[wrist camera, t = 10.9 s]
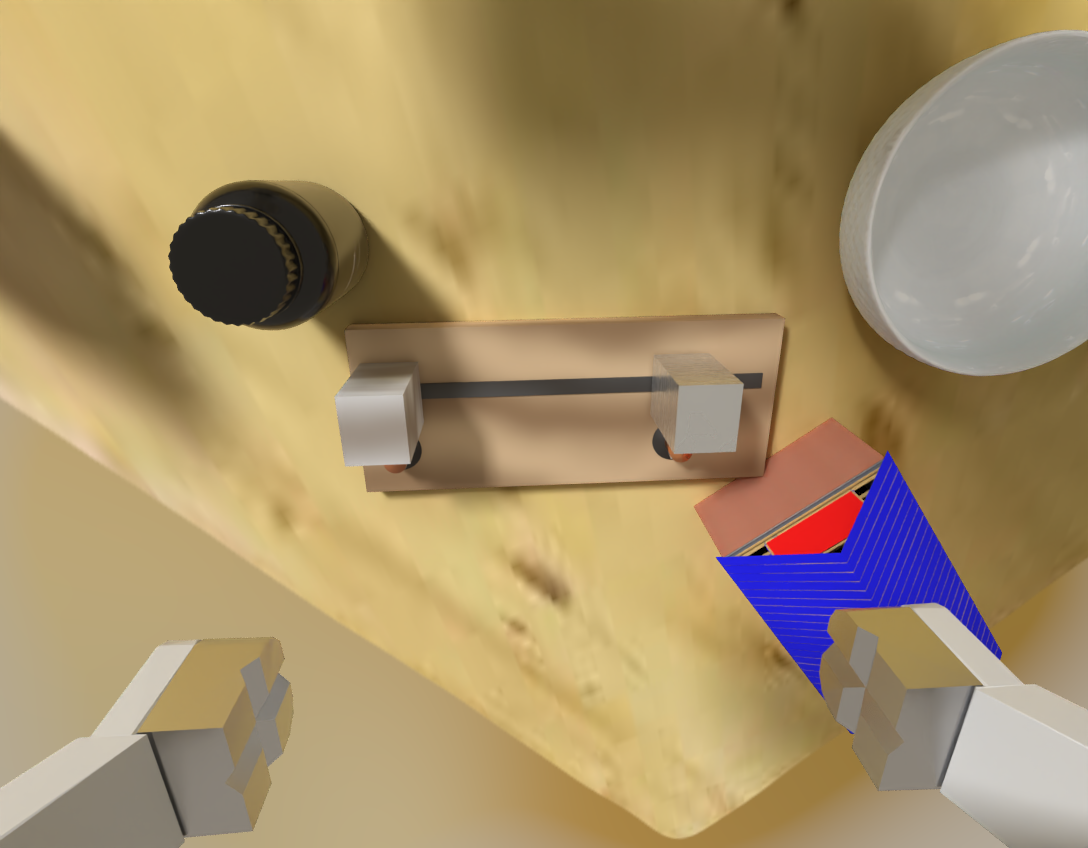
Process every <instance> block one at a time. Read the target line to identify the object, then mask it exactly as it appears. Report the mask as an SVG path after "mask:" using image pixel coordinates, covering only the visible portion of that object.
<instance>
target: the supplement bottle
mask: <svg viewBox="0 0 1088 848" xmlns="http://www.w3.org/2000/svg"><path fill="white" fill-rule="evenodd" d="M170 250H171V251H170V253H169V255H168V257H169V260H170V266H169V268H170V270H171V272H172V273H173V276H172V277H173V280H174V282H175V283H176V284H177V288H178V290H179V291H180V292H181V293H182V294H183V295H184V298H185V300H186V301H187V302H189V303H191V305H192V306H193V308H194V309H196V310H198V311H200V312H201V313H202V314H203V315H204V316H206V317H210V318H211V319H213V320H214V321H216V322H223V323H224V324H226V325H229V324H234V325H236V326H240V325H245V326H248V327H251V328H255V329H261V330H283V329H288V328H292V327H295V326H298V325H300V324H302V323H304V322H307V321H308V320H310V319H312V318H313V317H315V316H316V315H317V314H319V313H320V312H322V311H323V310H324V309H326V308H327V307H329V306H330V305H331V304H333V303H334V302H336V301H337V300H338V299H340V298H341V297H342V296H344V295H345V294H346V293H348V292H349V291H350V290H351V289H352V288H353V287H354V286H355V285H356V284H357V283H358V281H359V280H360V278H361V277H362V275H363V273H364V271H365V268H366V265H367V261H368V254H369V244H368V237H367V233H366V230H365V227H364V224H363V222H362V220H361V218H360V216H359V215H358V213H357V212H356V210H355V209H354V208H353V206H352V205H351V204H350V203H349V202H348V201H347V200H346V199H345V198H344V197H342V196H341V195H340V194H338V193H337V192H335V191H334V190H332V189H330V188H328V187H325V186H323V185H320V184H317V183H312V182H306V181H270V180H248V181H240V182H234V183H230V184H227V185H224V186H222V187H220V188H218V189H216V190H214V191H212V192H211V193H209V194H208V195H207V196H206V197H205V198H204V199H203V200H202V201H201V202H200V203H199V204H198V205H197V207H196V208H195V209H194V211H193V213H192V215H191V217H188V218H187V219H186V222H185V223H183V224H181V225H179V229H178V231H177V232H176V233H175V234H174V235H173V241H172V242H171V244H170Z"/></svg>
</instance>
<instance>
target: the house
mask: <svg viewBox="0 0 1088 848" xmlns="http://www.w3.org/2000/svg"><path fill="white" fill-rule="evenodd" d="M861 481H863V482H861ZM859 482H861V483H859ZM858 483H859V484H858ZM856 484H858V485H856ZM854 485H856V486H854ZM863 485H865V486H866V487H867V489H868V491H867V492H865V493H863V494H862V495H860V496H858V495H857V494H856V493H855V490H857V489H858V488H860V487H862V486H863ZM853 486H854V487H853ZM851 487H853V488H851ZM849 488H851V489H850V490H848V489H849ZM846 490H848V491H846ZM845 491H846V492H845ZM843 492H845V493H843ZM841 493H843V494H841ZM840 494H841V495H840ZM838 495H840V496H838ZM836 496H838V497H837V498H835V497H836ZM866 496H867V497H866ZM864 497H866V499H865V501H864V500H863V498H864ZM833 498H835V499H833ZM832 499H833V500H832ZM830 500H832V501H830ZM828 501H830V502H828ZM827 502H828V503H827ZM825 503H827V504H825ZM823 504H825V505H824V506H822V505H823ZM820 506H822V507H820ZM819 507H820V508H819ZM694 508H695V509H696V511H697V513H698V515H699V517H700V518H701V520H702V522H703V524H704V525H705V527H706V529H707V531H708V533H709V534H710V536H711V538H712V540H713V541H714V543H715V545H716V547H717V549H718V550H719V552H720V554H721V556H722V557H716V558H717V560H718V561H719V562H720V564H721V565H722V566H723V567H724V569H725V570H726V571H727V573H728V574H729V575H730V577H731V578H732V579H733V581H734V582H735V583H736V584H737V586H738V587H739V588H740V590H741V591H742V592H743V594H744V595H745V596H746V598H747V599H748V600H749V601H750V603H751V604H752V605H753V607H754V608H755V609H756V611H757V612H758V613H759V615H760V616H761V617H762V618H763V620H764V621H765V622H766V624H767V625H768V626H769V628H770V629H771V630H772V632H773V633H774V634H775V636H776V637H777V638H778V639H779V641H780V642H781V643H782V645H783V646H784V647H785V649H786V650H787V651H788V653H789V654H790V655H791V656H792V658H793V659H794V660H795V662H796V663H797V664H798V666H799V667H800V668H801V670H802V671H803V672H804V673H805V675H806V676H807V677H808V679H809V680H810V681H811V683H812V684H813V685H814V687H815V688H816V689H817V690H818V692H819V693H820V694H821V696H822V697H823V698H824V696H823V693H822V689H821V682H820V675H819V670H820V664H821V658H822V654H823V653H824V652H825V651H826V650H827V649H828V648H829V647H830V646H831V645H832V644H833V643H834V641H833V639H832V638H831V636H830V635H829V633H828V632H827V628H828V624H829V619H830V617H831V615H832V614H833V613H834V611H835V610H836V609H853V608H871V607H889V606H902V605H910V604H924V603H937V604H939V605H941V606H944V607H945V608H947V609H948V610H949V611H950V612H951V613H952V614H953V615H954V616H955V617H956V618H957V619H958V620H959V621H960V622H961V623H962V624H963V625H964V626H965V627H966V628H967V629H968V630H969V631H970V632H971V633H972V634H973V635H974V636H975V637H976V638H977V639H978V640H979V641H980V642H982V643H983V644H984V645H985V646H986V647H987V648H988V649H989V650H990V651H991V652H992V653H993V654H994V655H995V656H996V657H997V658H998V659H999V660H1000V658H1001V655H1002V652H1001V650H1000V648H999V646H998V645H997V643H996V641H995V639H994V637H993V636H992V634H991V632H990V630H989V629H988V627H987V625H986V623H985V622H984V620H983V618H982V616H981V615H980V613H979V611H978V609H977V607H976V606H975V604H974V602H973V600H972V599H971V597H970V595H969V593H968V592H967V590H966V588H965V586H964V585H963V583H962V581H961V579H960V577H959V576H958V574H957V572H956V570H955V569H954V567H953V565H952V563H951V562H950V560H949V558H948V556H947V555H946V553H945V551H944V549H943V547H942V546H941V544H940V542H939V540H938V539H937V537H936V535H935V533H934V532H933V530H932V528H931V526H930V525H929V523H928V521H927V519H926V517H925V516H924V514H923V512H922V510H921V509H920V507H919V505H918V503H917V502H916V500H915V498H914V496H913V495H912V493H911V491H910V489H909V487H908V486H907V484H906V482H905V480H904V479H903V477H902V475H901V473H900V472H899V470H898V468H897V466H896V465H895V463H894V461H893V459H892V457H891V456H890V454H889V452H888V451H887V453H886V455H885V457H883V456H882V455H881V454H879V453H878V452H877V451H875V450H874V449H873V448H871V447H870V446H869V445H867V444H866V443H865V442H863V441H862V440H861V439H859V438H858V437H857V436H855V435H854V434H853V433H851V432H850V431H849V430H847V429H846V428H845V427H844V426H842V425H841V424H840V423H838V422H837V421H836V420H834V419H833V418H830V419H829V420H827V421H826V422H824V423H822V424H821V425H819V426H818V427H816V428H815V429H813V430H812V431H810V432H808V433H807V434H805V435H804V436H802V437H801V438H799V439H798V440H796V441H794V442H793V443H791V444H790V445H788V446H787V447H785V448H784V449H782V450H780V451H779V452H777V453H776V454H774V455H773V456H771V457H770V458H768V459H766V460H765V467H764V474H763V476H758V477H738V478H737V479H735V480H734V481H732V482H731V483H729V484H728V485H726V486H725V487H723V488H721V489H720V490H718V491H717V492H715V493H714V494H712V495H711V496H709V497H707V498H706V499H704V500H703V501H701V502H700V503H698V504H697V505H695V506H694ZM817 508H819V509H817ZM815 509H817V510H815ZM814 510H815V511H814ZM812 511H814V512H812ZM810 512H812V513H810ZM809 513H810V514H809ZM807 514H809V515H807ZM806 515H807V516H806ZM804 516H806V517H804ZM802 517H804V518H802ZM801 518H802V519H801ZM799 519H801V520H799ZM797 520H799V521H797ZM796 521H797V522H796ZM794 522H796V523H794ZM793 523H794V524H793ZM791 524H793V525H791ZM789 525H791V526H789ZM788 526H789V527H788ZM786 527H788V528H786ZM784 528H786V529H784ZM783 529H784V530H783ZM781 530H783V531H781ZM780 531H781V532H780ZM778 532H780V533H778ZM776 533H778V534H776ZM775 534H776V535H775ZM773 535H775V536H773ZM771 536H773V537H771ZM770 537H771V538H770ZM847 537H848V538H847ZM768 538H770V539H768ZM845 538H847V539H845ZM767 539H768V540H767ZM843 539H845V540H843ZM765 540H767V541H765ZM842 540H843V541H842ZM763 541H765V542H763ZM840 541H842V542H840ZM762 542H763V543H762ZM838 542H840V543H838ZM760 543H762V544H760ZM837 543H838V544H837ZM758 544H760V545H758ZM835 544H837V545H835ZM757 545H758V546H757ZM833 545H835V546H833ZM755 546H757V547H755ZM764 546H765V547H766V548H767V549H768V552H767V553H765V554H763V555H762V556H749V555H751V554H752V553H754V552H756V551H757V550H759V549H761V548H762V547H764ZM832 546H833V547H832ZM843 546H844V547H843ZM754 547H755V548H754ZM830 547H832V548H830ZM841 547H843V549H842V551H841V553H833V552H834V551H836V550H838V549H839V548H841ZM752 548H754V549H752ZM828 548H830V549H828ZM750 549H752V550H750ZM827 549H828V550H827ZM749 550H750V551H749ZM825 550H827V551H825ZM747 551H749V552H747ZM823 551H825V552H823ZM745 552H747V553H745ZM822 552H823V553H822ZM744 553H745V554H744ZM742 554H744V555H742ZM741 555H742V556H741ZM824 700H825V699H824ZM847 730H848V729H847ZM848 731H849V732H850V733H851V734H854V733H853V732H851V731H850V730H848Z"/></svg>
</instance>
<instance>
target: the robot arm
mask: <svg viewBox="0 0 1088 848" xmlns="http://www.w3.org/2000/svg"><path fill="white" fill-rule="evenodd" d="M827 632H828V633H829V635H830V636H831V638H832V639H833V641H834V643H833V644H832V645H831V646H830V647H829V648H828V649H827V650H826V651H825V652H824V653H823V654H822V658H821V664H820V670H819V675H820V682H821V689H822V693H823V696H824V699H825V701H826V704H827V706H828V708H829V710H830V712H831V713H832V715H833V717H834V719H835V720H836V721H837V722H838V723H840V724H841V725H843V726H844V727H845V728H847V729H848V730H850V731H851V732H853V733H854V739H853V745H852V749H853V750H854V752H855V753H856V755H857V757H858V758H859V760H860V762H861V763H862V765H863V767H864V768H865V770H866V772H867V773H868V775H869V776H870V778H871V780H872V781H873V783H874V785H875V786H876V788H877V789H878V791H887V790H888V791H890V790H918V789H941V790H940V793H942V794H943V795H944V796H945V797H947V798H948V799H949V800H950V801H952V802H953V803H954V804H956V805H957V806H958V807H959V808H960V809H962V810H963V811H964V812H965V813H967V814H968V815H969V816H970V817H971V818H973V819H974V820H975V821H976V822H978V823H979V824H980V825H982V826H983V827H984V828H985V829H986V830H988V831H989V832H990V833H991V834H993V835H994V836H995V837H996V838H998V839H999V840H1000V841H1001V842H1003V843H1004V844H1005V845H1006V846H1008V847H1009V848H1088V710H1087V709H1085V708H1083V707H1081V706H1079V705H1077V704H1075V703H1073V702H1071V701H1069V700H1067V699H1065V698H1063V697H1061V696H1059V695H1057V694H1055V693H1053V692H1051V691H1048V690H1046V689H1044V688H1042V687H1040V686H1038V685H1036V684H1023V683H1022V682H1021V681H1020V680H1019V679H1018V678H1017V677H1016V676H1015V675H1014V674H1013V673H1012V672H1011V671H1010V670H1009V669H1008V668H1007V667H1006V666H1005V665H1004V664H1003V663H1002V662H1001V661H1000V660H999V659H998V658H997V657H996V656H995V655H994V654H993V653H992V652H991V651H990V650H989V649H988V648H987V647H986V646H985V645H984V644H983V643H982V642H980V641H979V640H978V639H977V638H976V637H975V636H974V635H973V634H972V633H971V632H970V631H969V630H968V629H967V628H966V627H965V626H964V625H963V624H962V623H961V622H960V621H959V620H958V619H957V618H956V617H955V616H954V615H953V614H952V613H951V612H950V611H949V610H948V609H947V608H945V607H944V606H941V605H939V604H937V603H924V604H910V605H902V606H889V607H871V608H853V609H836V610H835V611H834V613H833V614H832V615H831V617H830V619H829V624H828V628H827ZM284 659H285V658H284V655H283V651H282V647H281V643H280V641H279V640H278V639H276V638H274V637H261V638H223V639H203V640H173V641H166V642H165V643H163V644H161V645H159V646H158V647H157V648H156V649H155V650H154V652H153V653H152V654H151V656H150V657H149V658H148V660H147V661H146V662H145V664H144V665H143V666H142V668H141V669H140V670H139V672H138V673H137V674H136V676H135V677H134V679H133V680H132V681H131V682H130V684H129V685H128V687H127V688H126V689H125V691H124V692H123V693H122V695H121V696H120V697H119V699H118V700H117V701H116V703H115V704H114V705H113V707H112V708H111V709H110V711H109V712H108V713H107V715H106V716H105V718H104V719H103V720H102V722H101V723H100V724H99V726H98V727H97V728H96V730H95V731H94V732H93V734H92V735H91V736H90V737H85V738H77V739H75V740H74V741H73V742H71V743H69V744H68V745H66V746H64V747H63V748H61V749H60V750H58V751H57V752H55V753H54V754H52V755H51V756H49V757H48V758H46V759H44V760H43V761H41V762H40V763H38V764H37V765H35V766H34V767H32V768H31V769H29V770H27V771H26V772H24V773H23V774H21V775H20V776H18V777H17V778H15V779H14V780H12V781H10V782H9V783H8V784H6V785H4V786H3V787H1V788H0V848H179V847H180V846H181V845H182V844H183V843H184V838H185V837H196V836H206V835H216V834H228V833H238V832H248V831H253V829H254V827H255V824H256V822H257V819H258V816H259V814H260V811H261V809H262V806H263V804H264V801H265V799H266V796H267V793H268V791H269V788H270V786H271V779H270V775H269V771H268V766H269V765H270V764H272V762H274V761H275V760H276V759H277V758H278V757H279V756H280V755H281V754H283V752H284V749H285V746H286V743H287V741H288V738H289V735H290V730H291V724H292V718H293V694H292V690H291V685H290V682H288V681H287V680H286V679H285V678H284V677H283V676H281V675H280V674H279V670H280V668H281V666H282V663H283V661H284Z"/></svg>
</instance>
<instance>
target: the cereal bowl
mask: <svg viewBox="0 0 1088 848" xmlns="http://www.w3.org/2000/svg"><path fill="white" fill-rule="evenodd" d="M839 238H840V242H839V244H840V250H839V253H840V257H841V264H842V271H843V274H844V279H845V283H846V285H847V287H848V292H849V294H850V295H851V298H852V299H853V302H854V303H855V306H856V307H857V309H858V310H859V312H860V314H861V315H862V316H863V318H864V319H865V320H866V321H867V322H868V324H869V326H870V327H872V328H873V329H874V330H875V331H876V333H877V334H879V336H881V337H882V338H883V339H884V340H885V341H886V342H888V343H890V344H891V345H893V346H894V347H895V348H896V349H898V350H900V351H902V352H904V353H905V354H907V355H908V356H910V357H913V358H915V359H916V360H918V361H920V362H924V363H925V364H928V365H929V366H933V367H936V368H939V369H941V370H944V371H949V372H953V373H957V374H963V375H971V376H994V375H1005V374H1010V373H1016V372H1020V371H1024V370H1028V369H1031V368H1034V367H1037V366H1040V365H1042V364H1045V363H1047V362H1049V361H1052V360H1054V359H1056V358H1058V357H1060V356H1062V355H1064V354H1065V353H1067V352H1069V351H1071V350H1073V349H1074V348H1076V347H1077V346H1079V345H1081V344H1082V343H1084V342H1085V341H1086V340H1088V31H1082V30H1056V31H1048V32H1041V33H1035V34H1031V35H1028V36H1024V37H1020V38H1016V39H1013V40H1010V41H1008V42H1005V43H1001V44H999V45H997V46H994V47H992V48H989V49H986V50H983V51H981V52H979V53H978V54H976V55H974V56H971V57H969V58H966V59H964V60H962V61H961V62H959V63H957V64H955V65H953V66H951V67H949V68H948V69H947V70H945V71H943V72H942V73H941V74H939V75H937V76H936V77H934V78H933V79H932V80H930V81H929V82H928V83H926V84H925V85H923V86H922V87H921V88H919V89H918V90H917V91H916V92H915V93H913V94H912V95H911V96H910V97H909V98H908V99H906V100H905V101H904V102H903V104H901V105H900V106H899V107H898V108H897V110H896V111H895V112H894V113H893V114H891V115H890V117H889V118H888V119H887V121H886V122H885V123H884V125H883V126H882V127H881V128H880V129H879V131H878V132H877V133H876V134H875V136H874V138H873V139H872V141H871V142H870V144H869V145H868V147H867V149H866V150H865V152H864V154H863V156H862V158H861V160H860V162H859V164H858V165H857V168H856V170H855V172H854V175H853V178H852V180H851V181H850V185H849V188H848V191H847V195H846V197H845V201H844V206H843V211H842V213H841V223H840V232H839Z"/></svg>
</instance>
